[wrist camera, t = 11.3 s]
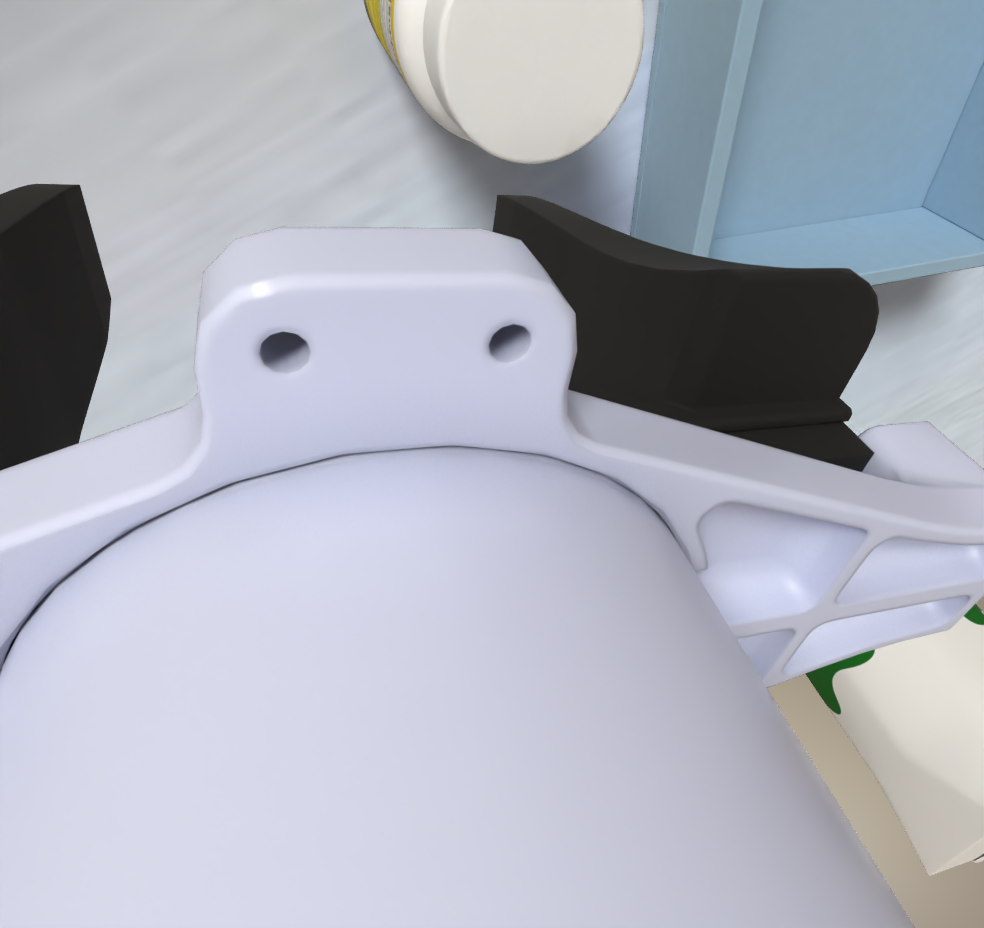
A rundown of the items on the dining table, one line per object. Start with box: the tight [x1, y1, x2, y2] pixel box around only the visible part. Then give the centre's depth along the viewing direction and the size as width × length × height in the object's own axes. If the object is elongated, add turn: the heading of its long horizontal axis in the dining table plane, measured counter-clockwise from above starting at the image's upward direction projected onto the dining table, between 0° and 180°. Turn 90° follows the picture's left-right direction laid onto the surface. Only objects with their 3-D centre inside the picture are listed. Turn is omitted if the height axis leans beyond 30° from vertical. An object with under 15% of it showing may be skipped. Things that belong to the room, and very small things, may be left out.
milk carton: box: [805, 604, 984, 875], centre depth 36 cm, size 9×9×20 cm
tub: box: [630, 0, 984, 286], centre depth 20 cm, size 16×13×4 cm
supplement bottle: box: [364, 0, 644, 164], centre depth 15 cm, size 5×5×8 cm
